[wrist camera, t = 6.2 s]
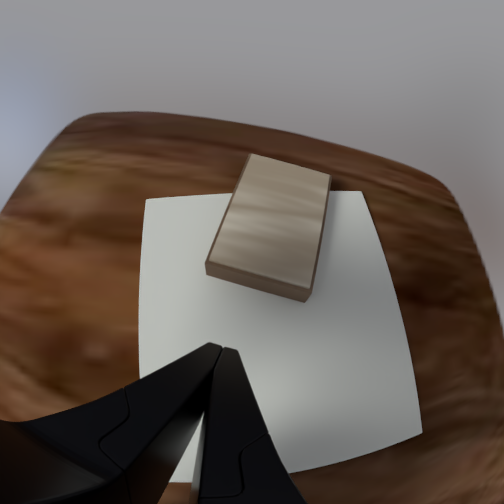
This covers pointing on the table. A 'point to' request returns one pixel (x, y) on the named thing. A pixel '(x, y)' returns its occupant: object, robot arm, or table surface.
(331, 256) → the mat
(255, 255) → the tile
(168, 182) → the table surface
